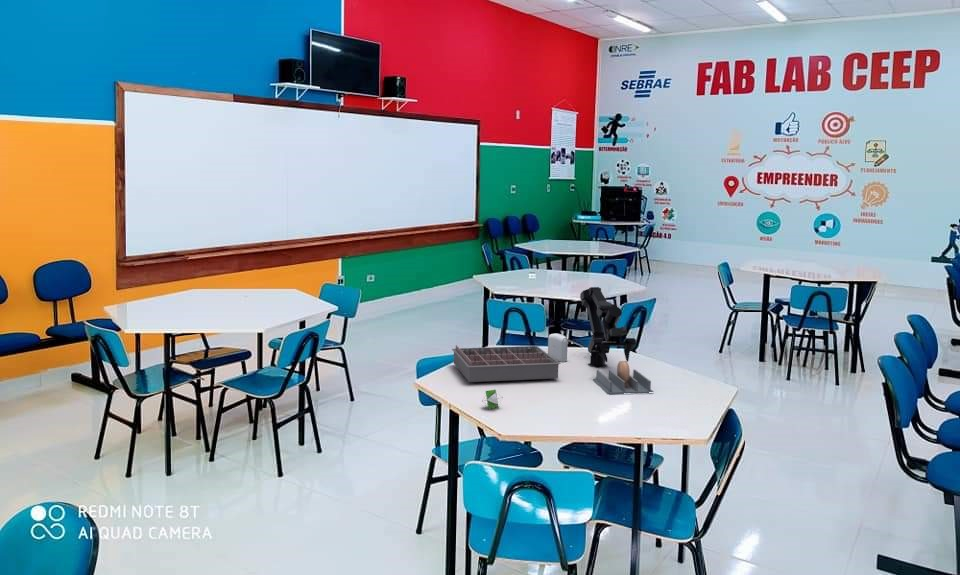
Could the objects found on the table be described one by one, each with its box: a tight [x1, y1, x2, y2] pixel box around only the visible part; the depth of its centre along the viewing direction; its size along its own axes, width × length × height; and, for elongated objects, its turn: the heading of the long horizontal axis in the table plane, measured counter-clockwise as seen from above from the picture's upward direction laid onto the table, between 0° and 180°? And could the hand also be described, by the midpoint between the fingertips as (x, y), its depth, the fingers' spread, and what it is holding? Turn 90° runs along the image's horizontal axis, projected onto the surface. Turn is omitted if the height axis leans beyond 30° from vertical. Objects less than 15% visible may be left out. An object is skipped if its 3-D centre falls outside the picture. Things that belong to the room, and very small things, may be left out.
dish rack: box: [592, 369, 654, 395], centre depth 311 cm, size 20×19×5 cm
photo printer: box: [547, 333, 569, 363], centre depth 353 cm, size 10×4×12 cm, turn 39°
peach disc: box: [616, 360, 631, 387], centre depth 311 cm, size 9×3×10 cm, turn 9°
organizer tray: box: [451, 344, 562, 383], centre depth 328 cm, size 32×40×10 cm
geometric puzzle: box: [483, 389, 504, 409], centre depth 280 cm, size 7×7×8 cm
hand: (617, 361), depth 318 cm, fingers open, 9 cm apart
